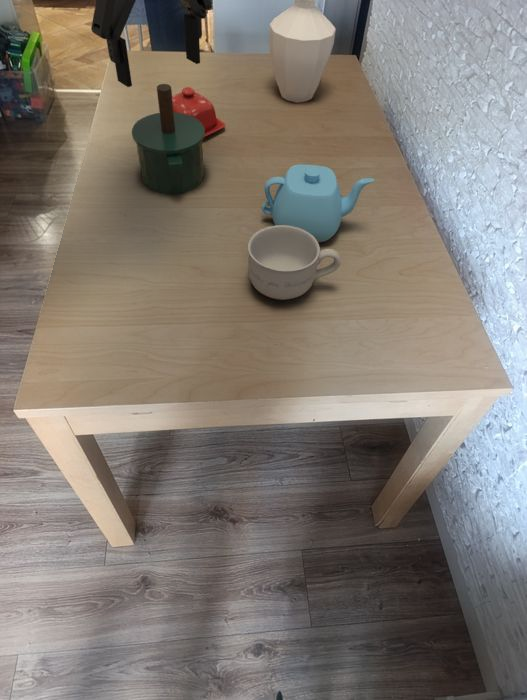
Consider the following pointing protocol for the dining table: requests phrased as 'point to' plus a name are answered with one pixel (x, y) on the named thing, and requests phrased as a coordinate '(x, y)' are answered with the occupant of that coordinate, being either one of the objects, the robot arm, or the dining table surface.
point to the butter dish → (197, 109)
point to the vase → (300, 49)
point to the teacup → (286, 261)
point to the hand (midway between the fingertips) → (160, 71)
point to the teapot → (311, 200)
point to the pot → (172, 169)
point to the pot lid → (167, 127)
